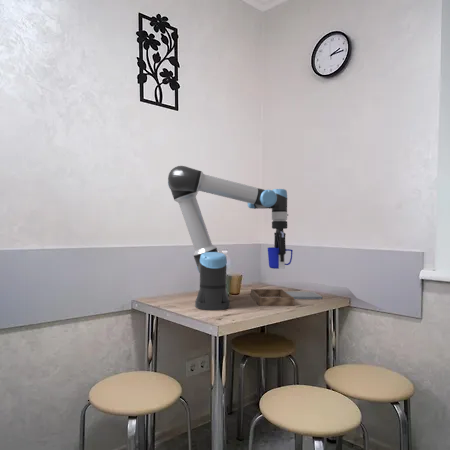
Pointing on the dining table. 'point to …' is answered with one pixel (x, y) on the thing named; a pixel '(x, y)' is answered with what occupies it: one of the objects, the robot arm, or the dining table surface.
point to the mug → (275, 257)
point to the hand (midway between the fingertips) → (279, 267)
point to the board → (304, 295)
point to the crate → (283, 301)
